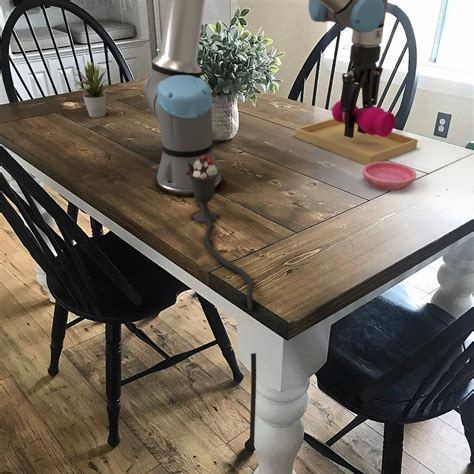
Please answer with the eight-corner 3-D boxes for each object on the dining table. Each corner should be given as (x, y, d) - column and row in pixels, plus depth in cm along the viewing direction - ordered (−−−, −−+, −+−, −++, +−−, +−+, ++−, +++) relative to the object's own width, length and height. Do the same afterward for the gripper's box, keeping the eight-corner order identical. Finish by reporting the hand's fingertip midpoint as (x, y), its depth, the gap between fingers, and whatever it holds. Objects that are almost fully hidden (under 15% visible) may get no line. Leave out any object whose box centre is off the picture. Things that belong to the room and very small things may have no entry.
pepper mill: (390, 140, 147) (335, 122, 160) (400, 113, 144) (343, 97, 157) (375, 137, 142) (319, 118, 155) (384, 108, 139) (327, 92, 152)
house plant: (68, 110, 179) (59, 57, 169) (110, 105, 184) (103, 53, 174) (77, 123, 168) (68, 67, 159) (121, 117, 173) (115, 62, 164)
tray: (416, 148, 150) (418, 139, 149) (369, 165, 140) (370, 156, 139) (341, 123, 168) (342, 115, 166) (294, 137, 158) (295, 128, 156)
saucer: (401, 171, 137) (403, 159, 135) (423, 192, 127) (425, 179, 125) (353, 174, 135) (355, 162, 133) (372, 196, 125) (374, 183, 123)
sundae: (227, 216, 117) (226, 148, 108) (204, 227, 113) (201, 157, 104) (205, 207, 121) (203, 140, 112) (183, 217, 117) (178, 149, 108)
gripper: (353, 51, 132) (343, 145, 146) (400, 42, 141) (386, 131, 155) (331, 46, 137) (323, 137, 150) (377, 38, 146) (366, 124, 160)
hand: (355, 134), depth 153 cm, fingers closed on pepper mill, 5 cm apart
